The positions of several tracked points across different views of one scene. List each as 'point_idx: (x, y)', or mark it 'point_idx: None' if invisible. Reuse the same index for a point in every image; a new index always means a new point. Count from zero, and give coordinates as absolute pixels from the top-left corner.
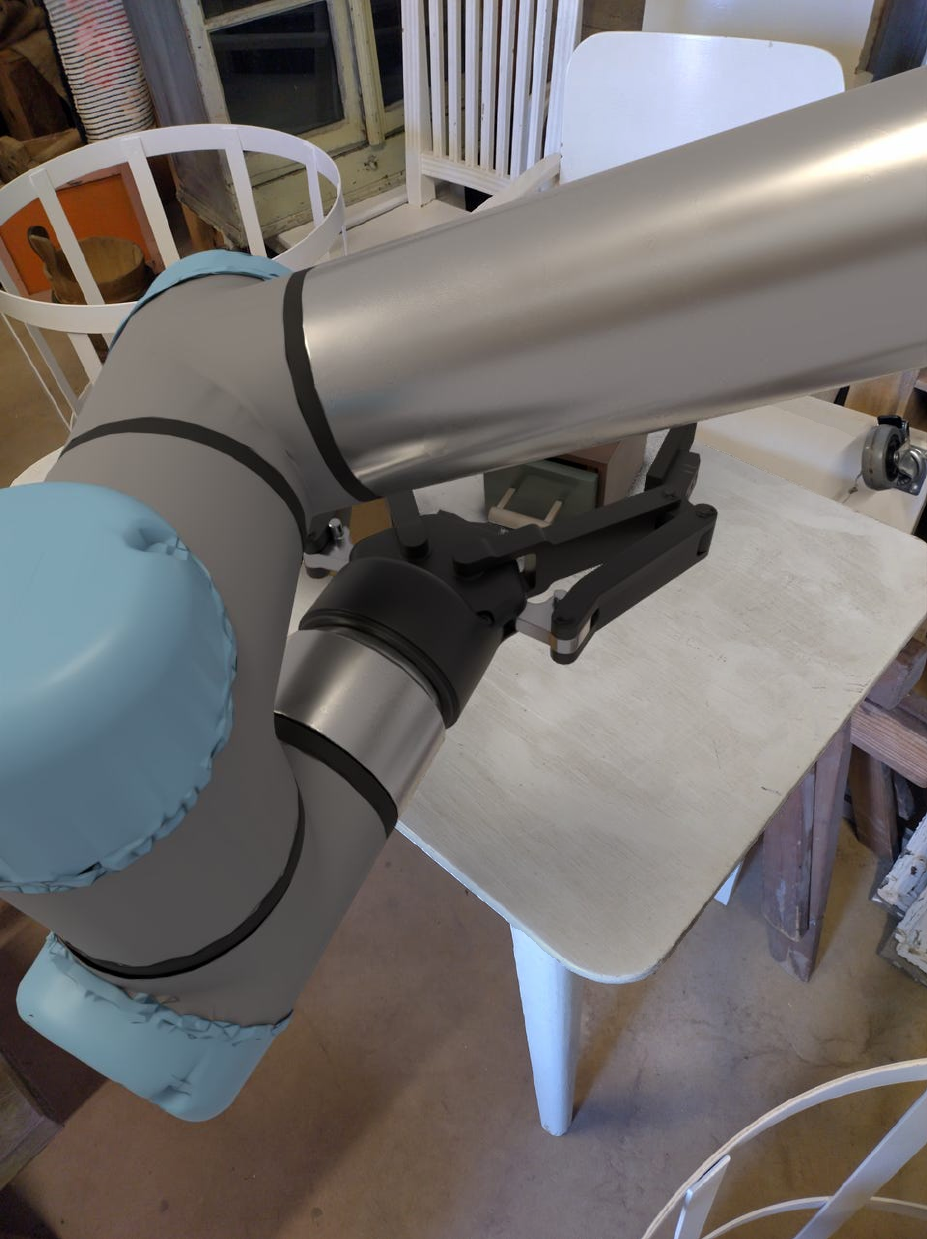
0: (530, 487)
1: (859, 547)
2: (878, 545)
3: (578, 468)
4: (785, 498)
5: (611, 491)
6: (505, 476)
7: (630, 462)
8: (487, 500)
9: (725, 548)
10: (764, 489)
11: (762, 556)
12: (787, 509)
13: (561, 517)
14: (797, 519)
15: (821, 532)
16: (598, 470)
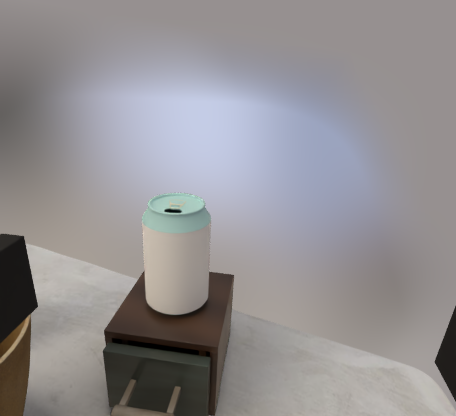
0: (150, 377)
1: (397, 378)
2: (407, 374)
3: None
4: (331, 346)
5: (219, 367)
6: (126, 369)
7: (226, 336)
8: (110, 392)
9: (311, 398)
10: (315, 341)
11: (340, 401)
12: (337, 355)
13: (180, 400)
14: (347, 362)
15: (367, 370)
16: (210, 353)
